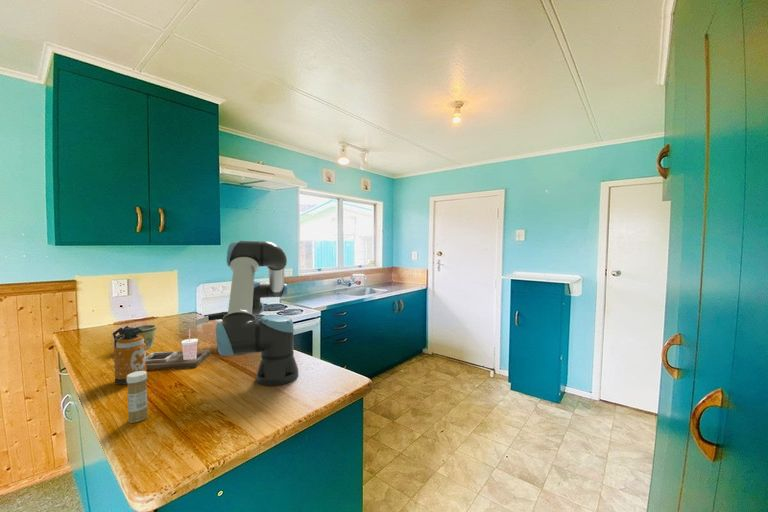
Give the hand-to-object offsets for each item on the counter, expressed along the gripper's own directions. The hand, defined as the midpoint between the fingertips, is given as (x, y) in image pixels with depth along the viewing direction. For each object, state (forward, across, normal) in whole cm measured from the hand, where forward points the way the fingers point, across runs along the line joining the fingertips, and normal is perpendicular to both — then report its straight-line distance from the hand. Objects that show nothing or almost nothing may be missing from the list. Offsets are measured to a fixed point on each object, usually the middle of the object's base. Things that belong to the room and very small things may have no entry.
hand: (208, 323), depth 142 cm
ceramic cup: (+2, +37, -14) cm, 39 cm away
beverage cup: (+10, 0, -14) cm, 18 cm away
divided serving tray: (+13, +5, -14) cm, 20 cm away
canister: (+31, +5, -14) cm, 35 cm away
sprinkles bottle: (+50, -24, -14) cm, 57 cm away
